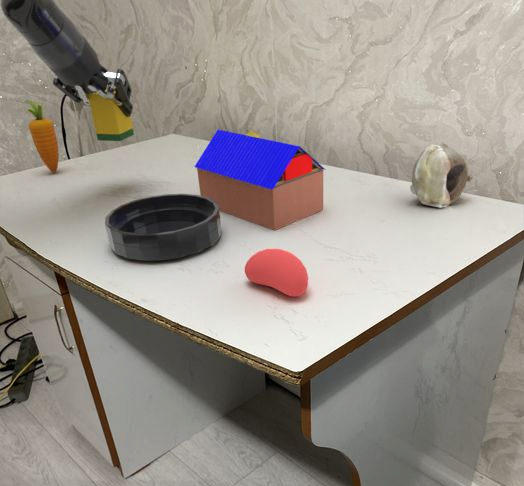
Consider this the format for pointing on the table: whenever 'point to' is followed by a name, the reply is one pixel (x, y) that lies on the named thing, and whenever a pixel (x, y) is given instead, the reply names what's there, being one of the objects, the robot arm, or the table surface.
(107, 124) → the sponge
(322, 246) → the table surface
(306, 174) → the house
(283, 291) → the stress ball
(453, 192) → the sea shell
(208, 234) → the bowl
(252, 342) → the table surface
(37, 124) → the carrot
